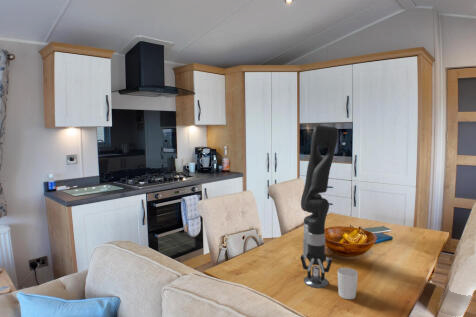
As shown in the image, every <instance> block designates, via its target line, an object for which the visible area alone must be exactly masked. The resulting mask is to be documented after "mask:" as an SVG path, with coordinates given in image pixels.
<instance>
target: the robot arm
mask: <svg viewBox="0 0 476 317" xmlns="http://www.w3.org/2000/svg"><path fill="white" fill-rule="evenodd" d="M338 138H339V131H338V128H337V127H333V126H329V125H328V126H326V125H315V126H314V127H313V130H312V135H311V144H310V153H309V158H308V163H307V169H306V174H305V175H306V176H305V182H304V187H303V191H302V195H301V200H300V207H301V210H302V211H304V212H307V213H310V214H309V215H307V216H305V217H304V218H303V238H302V239H303V240H302V243H303V244H302V247H303V249H302V254H301V255H300V261H301V264H302V269H303V270H306V272H307V274H306V277H308V278H309V279H311V275H312V269H311V268H312V267H313V266H319V267H320V276H321V281H323V280H324V278H326V277H325V275H326V273H329V272H330V268H331V265H332V262H333V258H332V257H328V256H326V236H325V235H326V233H325V231H326V230H325V228H326V227H325V224H326V219H327V217H328V216H327V215H328V213H329V210H330V203H329V201H328V199H326V198H325V197H323V196H322V194H323V193H326V192H327V190H328V185H329V180H330V178H329V177H330V172H331V171H330V170H331V167H332V164H333V159H334V156H335V152H336V149H337V144H338ZM319 147H324V148H328V149H327V151H326V154H325V155H324V157H322V154H321V153H320V149H319ZM306 258H307V260H308V262H309V263H308V265H307V262H306ZM325 261H326V263H327V264H326V266H325V265H324V262H325Z"/></svg>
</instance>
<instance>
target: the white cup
mask: <svg viewBox="0 0 476 317" xmlns="http://www.w3.org/2000/svg"><path fill="white" fill-rule="evenodd" d="M336 272H337V288H338V292H337V293H338V296H339V297H341V298H342V299H344V300H354V299H356V296H357V288H358V275H359V272H358V271H357V270H356V269H353V268H351V267H340V268H338V269H337V271H336Z"/></svg>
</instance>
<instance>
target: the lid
mask: <svg viewBox="0 0 476 317" xmlns="http://www.w3.org/2000/svg"><path fill="white" fill-rule="evenodd" d="M311 268H312V269H311V279H309V278H308V277H307V276H305V277H304V279H303V283H304V284H305V285H306V286H307V287H310V288H315V289H321V288H325V287H327V286H328V285H329V281H328V279H327V278H326V277H325V278H324V280H323V281H321V268H320V266H319V265H312V267H311Z"/></svg>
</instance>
